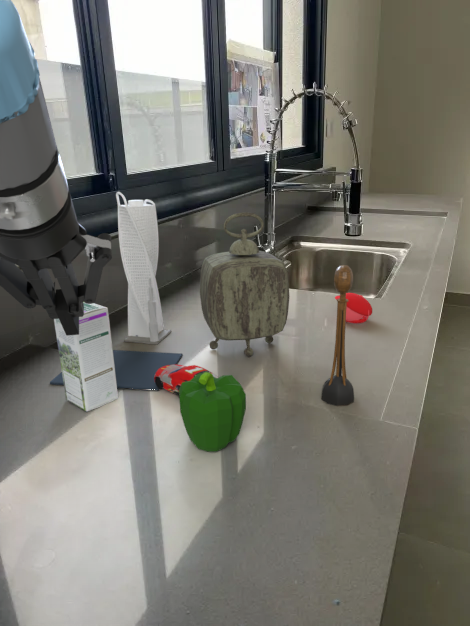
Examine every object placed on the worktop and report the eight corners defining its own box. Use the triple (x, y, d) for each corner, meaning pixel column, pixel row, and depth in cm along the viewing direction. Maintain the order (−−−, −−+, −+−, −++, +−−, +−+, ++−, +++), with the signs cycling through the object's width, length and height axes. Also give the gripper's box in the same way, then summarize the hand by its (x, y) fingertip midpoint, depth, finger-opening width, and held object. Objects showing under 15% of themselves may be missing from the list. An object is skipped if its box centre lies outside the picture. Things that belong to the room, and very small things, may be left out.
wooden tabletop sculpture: (322, 386, 77) (327, 259, 70) (353, 388, 76) (361, 259, 69) (320, 404, 71) (326, 268, 65) (354, 407, 70) (362, 269, 64)
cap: (372, 317, 107) (374, 291, 105) (370, 327, 102) (372, 298, 100) (335, 314, 110) (336, 288, 108) (331, 323, 104) (332, 295, 102)
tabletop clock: (275, 339, 96) (277, 208, 88) (291, 357, 88) (295, 214, 80) (202, 347, 93) (196, 211, 85) (211, 366, 84) (206, 218, 76)
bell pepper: (210, 416, 69) (207, 349, 65) (258, 436, 64) (257, 365, 60) (165, 443, 62) (160, 371, 59) (214, 468, 57) (211, 390, 54)
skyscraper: (117, 340, 97) (102, 193, 88) (136, 327, 104) (124, 189, 95) (157, 344, 94) (146, 193, 86) (173, 330, 102) (165, 189, 93)
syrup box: (119, 398, 74) (110, 305, 69) (85, 413, 70) (72, 316, 65) (98, 387, 78) (87, 298, 73) (63, 401, 73) (50, 308, 69)
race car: (148, 384, 77) (146, 360, 76) (174, 373, 81) (174, 350, 80) (206, 414, 69) (206, 388, 68) (233, 400, 73) (233, 376, 71)
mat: (49, 384, 79) (49, 382, 79) (88, 350, 92) (88, 348, 92) (158, 391, 76) (158, 388, 76) (182, 355, 89) (182, 353, 89)
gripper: (-73, 239, 37) (14, 358, 58) (105, 231, 39) (128, 348, 60) (-61, 164, 40) (18, 302, 61) (103, 160, 43) (125, 294, 63)
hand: (72, 325), depth 61 cm, fingers closed
